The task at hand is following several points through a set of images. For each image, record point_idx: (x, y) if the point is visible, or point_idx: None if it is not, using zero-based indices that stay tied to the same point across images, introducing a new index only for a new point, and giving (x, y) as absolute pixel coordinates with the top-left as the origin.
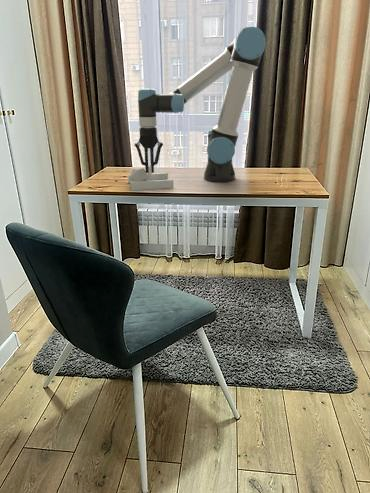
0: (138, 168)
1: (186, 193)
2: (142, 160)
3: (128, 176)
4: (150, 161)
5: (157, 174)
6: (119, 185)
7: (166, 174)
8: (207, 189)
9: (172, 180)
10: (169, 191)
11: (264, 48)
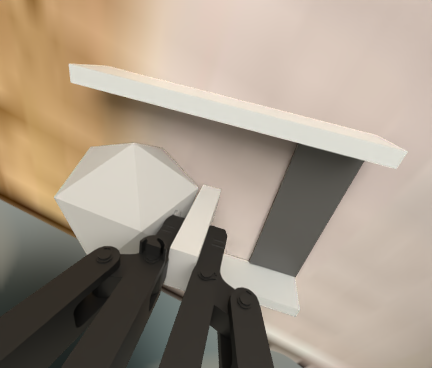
0: (98, 222)
1: (284, 348)
2: (80, 321)
3: (80, 83)
4: (184, 294)
5: (302, 142)
6: (60, 118)
7: (377, 162)
8: (392, 361)
9: (290, 311)
10: None
11: None
